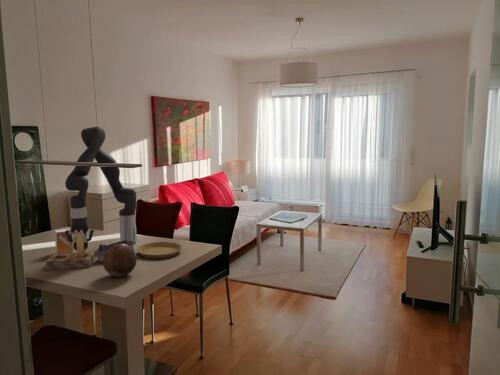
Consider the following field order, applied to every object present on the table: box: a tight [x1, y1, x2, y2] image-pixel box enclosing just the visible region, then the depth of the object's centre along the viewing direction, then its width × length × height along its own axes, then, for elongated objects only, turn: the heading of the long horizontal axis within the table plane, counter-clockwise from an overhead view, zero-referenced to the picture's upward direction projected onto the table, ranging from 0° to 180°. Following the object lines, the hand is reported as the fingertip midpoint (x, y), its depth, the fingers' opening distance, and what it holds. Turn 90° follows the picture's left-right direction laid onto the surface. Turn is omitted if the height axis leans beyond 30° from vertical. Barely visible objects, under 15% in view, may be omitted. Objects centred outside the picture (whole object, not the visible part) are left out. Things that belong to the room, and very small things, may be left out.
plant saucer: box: [136, 241, 182, 260], centre depth 219 cm, size 24×24×3 cm
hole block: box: [45, 251, 96, 270], centre depth 200 cm, size 20×12×4 cm, turn 100°
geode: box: [96, 240, 136, 264], centre depth 210 cm, size 20×12×10 cm, turn 141°
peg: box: [76, 232, 86, 258], centre depth 199 cm, size 4×4×14 cm
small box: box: [54, 228, 74, 254], centre depth 218 cm, size 8×6×13 cm
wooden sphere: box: [102, 244, 138, 278], centre depth 183 cm, size 15×15×15 cm
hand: (80, 249), depth 200 cm, fingers closed on peg, 4 cm apart
